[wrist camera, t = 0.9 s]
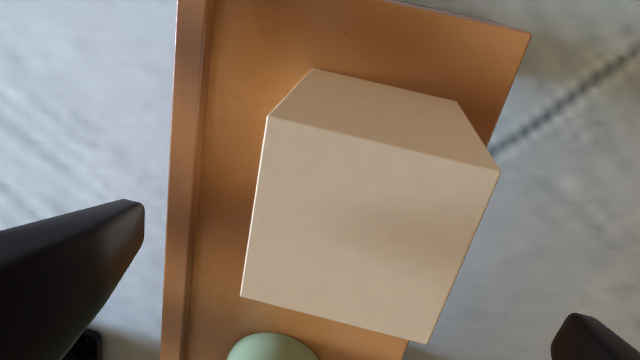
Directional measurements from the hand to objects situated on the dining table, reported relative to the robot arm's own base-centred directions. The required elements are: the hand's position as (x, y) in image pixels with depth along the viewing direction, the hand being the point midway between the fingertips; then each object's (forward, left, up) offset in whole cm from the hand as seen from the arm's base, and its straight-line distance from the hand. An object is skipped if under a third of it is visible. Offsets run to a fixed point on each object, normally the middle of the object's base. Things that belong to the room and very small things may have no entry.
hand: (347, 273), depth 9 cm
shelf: (-5, +1, -12) cm, 13 cm away
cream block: (0, 0, -7) cm, 7 cm away
